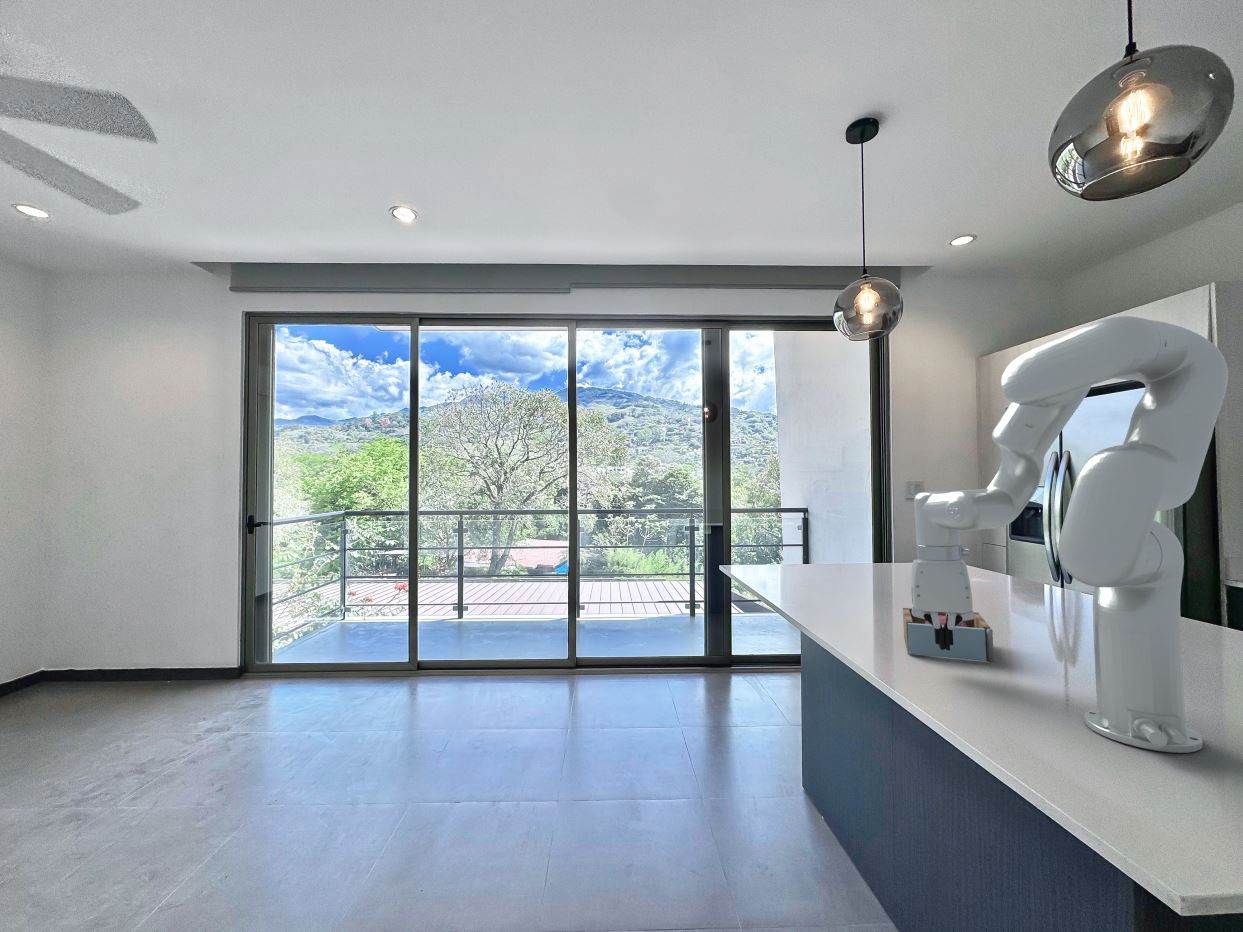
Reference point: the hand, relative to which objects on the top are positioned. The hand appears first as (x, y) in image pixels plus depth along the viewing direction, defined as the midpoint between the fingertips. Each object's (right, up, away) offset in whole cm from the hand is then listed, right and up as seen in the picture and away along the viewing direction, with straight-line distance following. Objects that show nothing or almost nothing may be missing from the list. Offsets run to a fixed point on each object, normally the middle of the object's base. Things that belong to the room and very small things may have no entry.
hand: (944, 648), depth 109 cm
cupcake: (+9, -5, +15) cm, 19 cm away
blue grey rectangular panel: (+6, -4, +8) cm, 11 cm away
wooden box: (+9, -5, +15) cm, 18 cm away
